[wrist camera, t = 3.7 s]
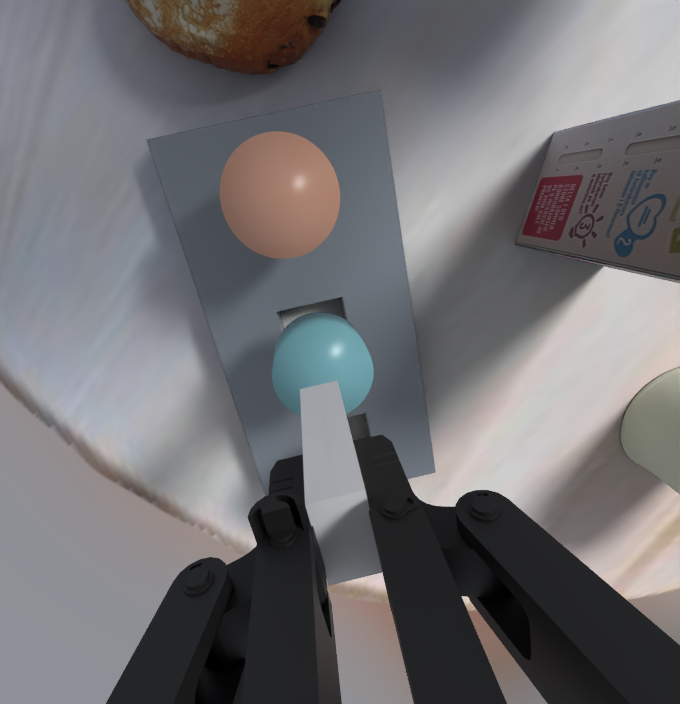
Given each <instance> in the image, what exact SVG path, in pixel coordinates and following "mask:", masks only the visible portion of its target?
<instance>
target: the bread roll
mask: <svg viewBox="0 0 680 704" xmlns="http://www.w3.org/2000/svg"><path fill="white" fill-rule="evenodd" d="M126 2H127V4H128V5H129V6H130V8H131V9H132V11H133V12H134V13H135V15H136V16H137V17H138V19H139V20H140V21H141V22H142V23H143V24H144V25H145V26H146V27H147V28H148V29H149V30H150V31H151V32H152V34H153V35H154V36H155V37H156V38H158V39H159V40H160V41H162V42H164V43H165V44H167V45H168V46H169V47H170V48H171V49H172V50H174V51H176V52H178V53H181V54H183V55H186V56H187V57H188V58H191V59H198V60H200V61H202V62H204V63H211V64H213V65H214V66H216V67H217V68H223V69H227V70H230V71H233V72H242V73H244V74H252V75H254V74H270V73H272V72H275V71H276V70H278V69H279V68H280V67H284V66H287V65H290V64H293V63H295V62H296V61H297V60H299V59H300V58H301V57H302V55H303V54H304V53H305V52H306V51H307V50H308V49H309V47H310V46H311V45H312V44H313V42H314V41H315V39H316V38H317V37H318V36H319V35H320V33H321V32H322V30H323V28H324V27H325V25H326V23H327V21H328V19H329V13H332V11H333V9H334V8H335V7H336V6H337V5H338V4H339V3H340V2H341V0H126Z"/></svg>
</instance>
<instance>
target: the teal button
mask: <svg viewBox="0 0 680 704" xmlns="http://www.w3.org/2000/svg"><path fill="white" fill-rule="evenodd" d="M373 373H374V369H373V363H372V359H371V356H370V354H369V352H368V349H367V347H366V345H365V343H364V341H363V339H362V337H361V335H360V333H359V332H358V330H357V329H356V328H355V327H354V326H353V325H352V324H351V323H350V322H349V321H347V320H346V319H344V318H342V317H340V316H338V315H335V314H331V313H324V312H316V313H310V314H307V315H303V316H301V317H299V318H297V319H295V320H294V321H292V322H291V323H290V324H289V325H288V326H287V327H286V328H285V329H284V330H283V331H282V333H281V334H280V336H279V338H278V340H277V343H276V346H275V352H274V360H273V368H272V381H273V386H274V389H275V392H276V394H277V396H278V398H279V399H280V400H281V402H282V403H283V404H284V405H285V406H286V407H287V408H288V409H289V410H291V411H292V412H294V413H295V414H297V415H300V416H301V402H300V389H303V388H307V387H312V386H316V385H320V384H324V383H329V382H333V381H338V384H339V388H340V392H341V396H342V400H343V404H344V408H345V412H346V414H347V413H349V412H351V411H352V410H354V409H355V408H356V407H357V406H358V405H360V404H361V402H362V401H363V400H364V399H365V397H366V396H367V394H368V392H369V390H370V388H371V385H372V382H373Z"/></svg>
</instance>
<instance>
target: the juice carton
mask: <svg viewBox="0 0 680 704" xmlns="http://www.w3.org/2000/svg"><path fill="white" fill-rule="evenodd" d="M515 245H518V246H522V247H526V248H531V249H535V250H539V251H543V252H547V253H551V254H555V255H560V256H564V257H568V258H572V259H576V260H580V261H585V262H589V263H593V264H597V265H601V266H605V267H610V268H614V269H619V270H623V271H628V272H632V273H637V274H641V275H646V276H650V277H655V278H659V279H663V280H668V281H672V282H677V283H680V100H679V101H675V102H671V103H667V104H663V105H659V106H655V107H651V108H647V109H643V110H639V111H635V112H631V113H627V114H623V115H619V116H615V117H611V118H607V119H603V120H599V121H595V122H592V123H588V124H584V125H580V126H576V127H572V128H568V129H564V130H560V131H557V132H554V134H553V137H552V140H551V143H550V146H549V148H548V151H547V154H546V157H545V160H544V163H543V165H542V168H541V171H540V174H539V177H538V180H537V182H536V185H535V188H534V191H533V194H532V197H531V199H530V202H529V205H528V208H527V211H526V214H525V216H524V219H523V222H522V225H521V228H520V231H519V233H518V236H517V239H516V242H515Z"/></svg>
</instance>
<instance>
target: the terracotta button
mask: <svg viewBox="0 0 680 704" xmlns="http://www.w3.org/2000/svg"><path fill="white" fill-rule="evenodd" d="M220 203H221V207H222V212H223V214H224V217H225V220H226V222H227V224H228V226H229V227H230V229H231V230H232V232H233V233H234V235H235V236H236V237H237V238H238V239H239V240H240V241H241V242H242V243H243V244H244V245H245V246H247V247H248V248H250V249H251V250H253V251H255V252H257V253H259V254H261V255H264V256H267V257H271V258H278V259H289V258H295V257H299V256H302V255H304V254H307V253H309V252H310V251H312V250H314V249H315V248H317V247H318V246H319V245H320V244H321V243H322V242H323V241H324V240H325V239H326V238H327V237H328V235H329V234H330V232H331V231H332V229H333V227H334V225H335V223H336V220H337V217H338V213H339V208H340V189H339V183H338V179H337V176H336V173H335V171H334V169H333V167H332V165H331V163H330V161H329V160H328V159H327V157H326V156H325V154H324V153H323V152H322V151H321V150H320V149H319V148H318V147H317V146H315V145H314V144H313V143H312V142H310V141H308V140H307V139H305V138H303V137H301V136H299V135H296V134H293V133H289V132H282V131H272V132H265V133H262V134H258V135H256V136H253V137H251V138H249V139H248V140H246V141H245V142H243V143H242V144H241V145H240V146H239V147H238V148H236V150H235V151H234V152H233V153H232V154H231V156H230V158H229V159H228V161H227V163H226V165H225V167H224V169H223V173H222V176H221V182H220Z"/></svg>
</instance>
